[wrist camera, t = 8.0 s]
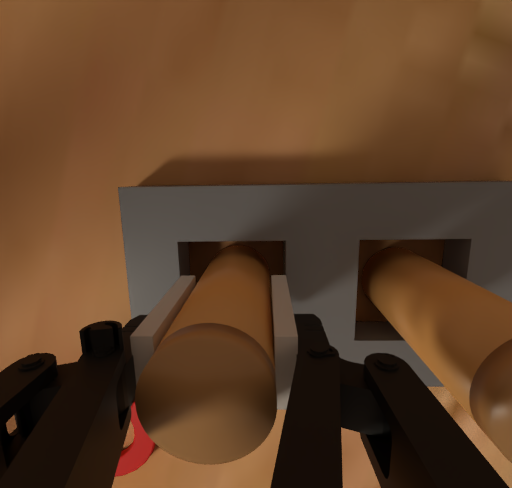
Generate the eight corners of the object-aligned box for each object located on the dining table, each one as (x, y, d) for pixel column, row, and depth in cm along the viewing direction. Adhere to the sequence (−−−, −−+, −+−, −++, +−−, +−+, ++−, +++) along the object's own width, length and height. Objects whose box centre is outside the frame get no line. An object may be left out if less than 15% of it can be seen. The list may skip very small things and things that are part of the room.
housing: (152, 362, 22) (138, 385, 20) (136, 186, 20) (118, 187, 17) (476, 362, 22) (504, 386, 19) (502, 180, 19) (537, 181, 17)
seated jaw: (360, 307, 21) (483, 475, 9) (363, 247, 20) (503, 348, 8) (422, 307, 21) (627, 477, 9) (427, 247, 20) (662, 348, 8)
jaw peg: (203, 298, 21) (128, 451, 9) (213, 239, 20) (143, 327, 9) (263, 309, 21) (262, 475, 9) (275, 251, 20) (290, 354, 9)
